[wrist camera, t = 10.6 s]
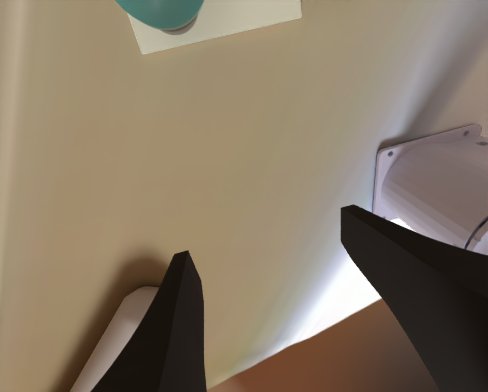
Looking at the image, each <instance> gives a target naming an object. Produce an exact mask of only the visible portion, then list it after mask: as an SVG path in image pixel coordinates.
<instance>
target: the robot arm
mask: <svg viewBox="0 0 488 392" xmlns="http://www.w3.org/2000/svg"><path fill="white" fill-rule="evenodd" d="M481 130H482V127H481V125H478V124H473V125H470V126H466V127H462V128H458V129H455V130H451V131H447V132H443V133H440V134H436V135H432V136H428V137H425V138H421V139H417V140H413V141H410V142H406V143H402V144H398V145H395V146H391V147H387V148H383V149H381V150H380V151H379V152H378V155H377V164H376V176H375V188H374V200H373V212H372V213H371V212H369V211H367V210H365V209H363V208H360V207H358V206H356V205H350V206H346V207H342V208H341V242H342V244H343V246H344V248H345V249H346V251H347V253H348V254H349V256H350V257H351V259H352V260H353V262H354V263H355V264H356V266H357V267H358V268H359V269H360V271H361V272H362V273H363V275H364V276H365V277H366V278H367V280H368V281H369V282H370V283H371V285H372V286H373V287H374V288H375V290H376V291H377V292H378V293H379V295H380V296H381V297H382V298H383V300H384V301H385V302H386V304H387V305H388V306H389V308H390V309H391V311H392V312H393V314H394V315H395V317H396V318H397V320H398V321H399V323H400V325H401V326H402V328H403V329H404V331H405V332H406V334H407V336H408V337H409V339H410V341H411V342H412V344H413V345H414V347H415V349H416V350H417V352H418V354H419V355H420V357H421V359H422V360H423V362H424V364H425V365H426V367H427V369H428V371H429V372H430V374H431V376H432V377H433V379H434V381H435V383H436V385H437V386H438V388H439V390H440V392H488V138H485V137H482V136H480V133H481ZM390 151H391V152H390ZM389 152H390V154H389V155H388V153H389ZM396 218H400V219H401V220H402V221H403V222H405V223H406V224H407V225H408V226H410V227H411V228H412V229H413V230H414V231H416V232H414V231H412V230H409V229H407V228H404V227H402V226H400V225H397V224H395V223H393V222H391V221H389V220H392V219H396ZM90 392H207V390H206V379H205V368H204V300H203V291H202V284H201V279H200V277H199V275H198V272H197V270H196V268H195V265H194V263H193V261H192V258H191V256H190V253H189V251H188V250H187V251H184V252H180V253H177V254H174V256H173V258H172V260H171V263H170V265H169V267H168V270H167V272H166V274H165V276H164V279H163V281H162V283H161V285H160V287H159V289H158V291H157V293H156V295H155V297H154V299H153V301H152V303H151V304H150V306H149V308H148V310H147V312H146V313H145V315H144V317H143V319H142V320H141V322H140V324H139V325H138V327H137V329H136V330H135V332H134V333H133V335H132V336H131V338H130V340H129V341H128V343H127V344H126V345H125V347H124V348H123V350H122V351H121V352H120V354H119V355H118V357H117V358H116V359H115V361H114V362H113V363H112V365H111V366H110V368H109V369H108V370H107V372H106V373H105V374H104V375H103V377H102V378H101V379H100V380H99V381H98V383H97V384H96V385H95V386H94V388H93V389H92V390H91V391H90Z"/></svg>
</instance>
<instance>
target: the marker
mask: <svg viewBox="0 0 488 392" xmlns="http://www.w3.org/2000/svg"><path fill="white" fill-rule="evenodd" d="M116 1H117V3H118V4H119V5H120V6H121V7H122V8H123V9H124V10H125V11H126V12H127V13H129V14H130V15H131V16H132V17H134V18H136V19H137V20H139V21H141V22H142V23H144V24H146V25H148V26H150V27H152V28H155V29H159V30H161V31H162V32H164V33H166V34H170V35H181V34H184V33H186V32H187V31H189V30H190V29H191V28H192V27H193V25H194V24H195V22H196V20H197V17H198V13H199V11H200V9H201V7H202V5H203V2H204V0H116Z"/></svg>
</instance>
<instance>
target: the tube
mask: <svg viewBox="0 0 488 392" xmlns="http://www.w3.org/2000/svg"><path fill="white" fill-rule="evenodd" d="M158 289H159V287H149V286H145V287H141V288H138V289H137V290H135V291H134V292H132V293H131V294H129V295H128V296H126V297H125V298H124V299H123V301H122V303H121V305H120V306H119V308H118V310H117V311H116V313H115V315H114V317H113V318H112V320H111V322H110V323H109V325H108V327H107V329H106V330H105V332H104V334H103V335H102V337H101V339H100V341H99V342H98V344H97V346H96V347H95V349H94V351H93V353H92V354H91V356H90V358H89V359H88V361H87V363H86V365H85V366H84V368H83V370H82V371H81V373H80V375H79V377H78V378H77V380H76V382H75V383H74V385H73V387H72V388H71V390H70V392H90V391H91V390H92V389H93V388H94V386H95V385H96V384H97V383H98V381H99V380H100V379H101V378H102V377H103V375H104V374H105V373H106V372H107V370H108V369H109V368H110V366H111V365H112V363H113V362H114V361H115V359H116V358H117V357H118V355H119V354H120V352H121V351H122V350H123V348H124V347H125V345H126V344H127V343H128V341H129V340H130V338H131V336H132V335H133V333H134V332H135V330H136V329H137V327H138V325H139V324H140V322H141V320H142V319H143V317H144V315H145V313H146V312H147V310H148V308H149V306H150V304H151V303H152V301H153V299H154V297H155V295H156V293H157V291H158Z"/></svg>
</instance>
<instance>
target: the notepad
mask: <svg viewBox="0 0 488 392" xmlns="http://www.w3.org/2000/svg"><path fill="white" fill-rule="evenodd" d="M127 14H128V16H129V19H130V22H131V25H132V28H133V30H134V33H135V36H136V39H137V42H138V44H139V47H140V50H141V53H142V55H144V54H148V53H153V52H157V51H161V50H166V49H170V48H174V47H178V46H183V45H187V44H191V43H196V42H200V41H204V40H209V39H213V38H217V37H222V36H226V35H230V34H235V33H239V32H243V31H247V30H252V29H256V28H260V27H265V26H269V25H273V24H278V23H282V22H286V21H291V20H295V19H299V18H302V14H301V0H204V2H203V5H202V7H201V9H200V11H199V13H198V17H197V20H196V22H195V24H194V25H193V27H192V28H191V29H190V30H189V31H187V32H186V33H184V34H181V35H170V34H166V33H164V32H162V31H161V30H159V29H155V28H152V27H150V26H148V25H146V24H144V23H142V22H141V21H139V20H137V19H136V18H134V17H132V16H131V15H130V14H129V13H127Z"/></svg>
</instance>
